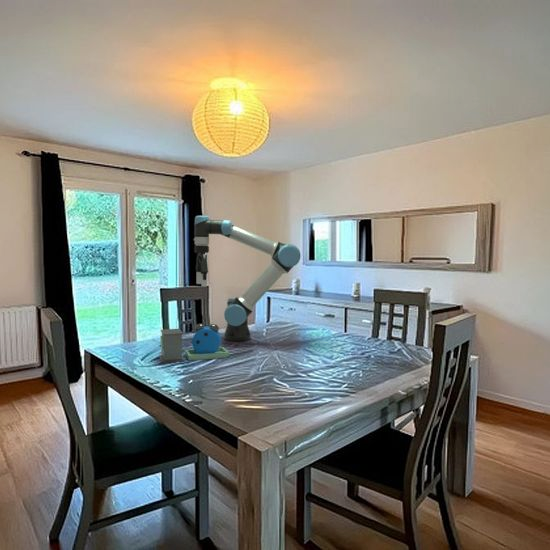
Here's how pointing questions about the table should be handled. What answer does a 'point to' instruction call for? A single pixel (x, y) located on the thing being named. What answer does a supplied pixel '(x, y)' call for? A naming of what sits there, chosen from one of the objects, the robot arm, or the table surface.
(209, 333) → the alarm clock
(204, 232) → the robot arm
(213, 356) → the green tray
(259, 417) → the table surface
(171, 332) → the box
